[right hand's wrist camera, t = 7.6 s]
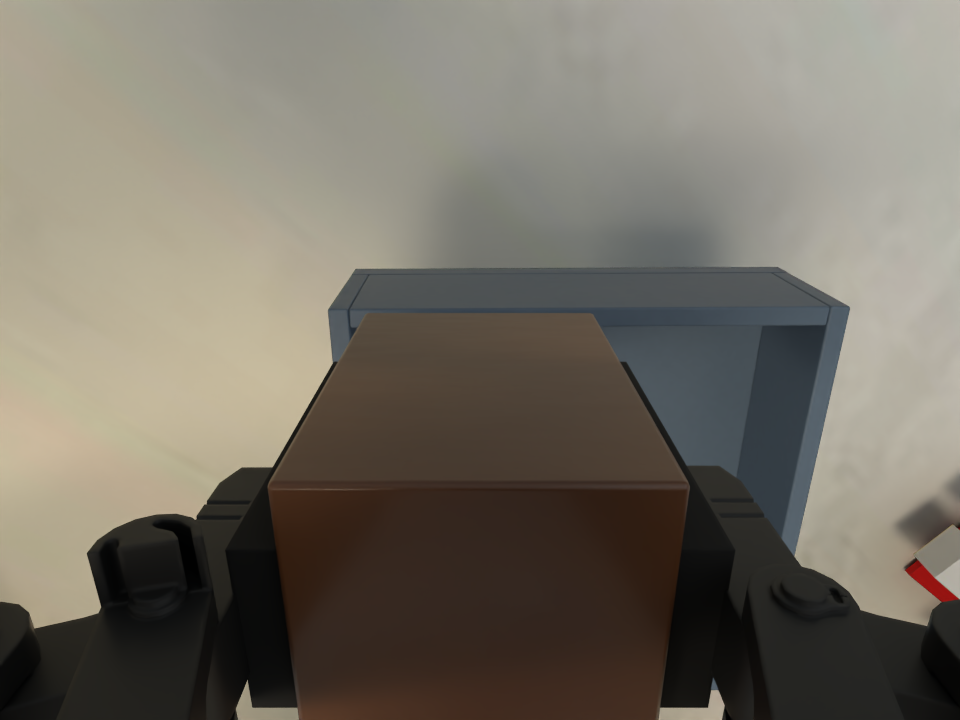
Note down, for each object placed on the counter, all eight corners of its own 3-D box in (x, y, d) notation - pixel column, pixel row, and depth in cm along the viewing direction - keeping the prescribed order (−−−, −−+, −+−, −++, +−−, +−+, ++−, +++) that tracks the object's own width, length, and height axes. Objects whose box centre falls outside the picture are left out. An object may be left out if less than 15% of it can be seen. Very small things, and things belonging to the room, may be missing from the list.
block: (377, 506, 16) (305, 783, 9) (364, 311, 14) (264, 484, 7) (580, 507, 16) (651, 784, 9) (594, 311, 14) (693, 484, 7)
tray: (392, 757, 32) (365, 985, 24) (355, 268, 23) (289, 364, 15) (692, 753, 33) (768, 979, 24) (778, 266, 23) (951, 361, 15)
